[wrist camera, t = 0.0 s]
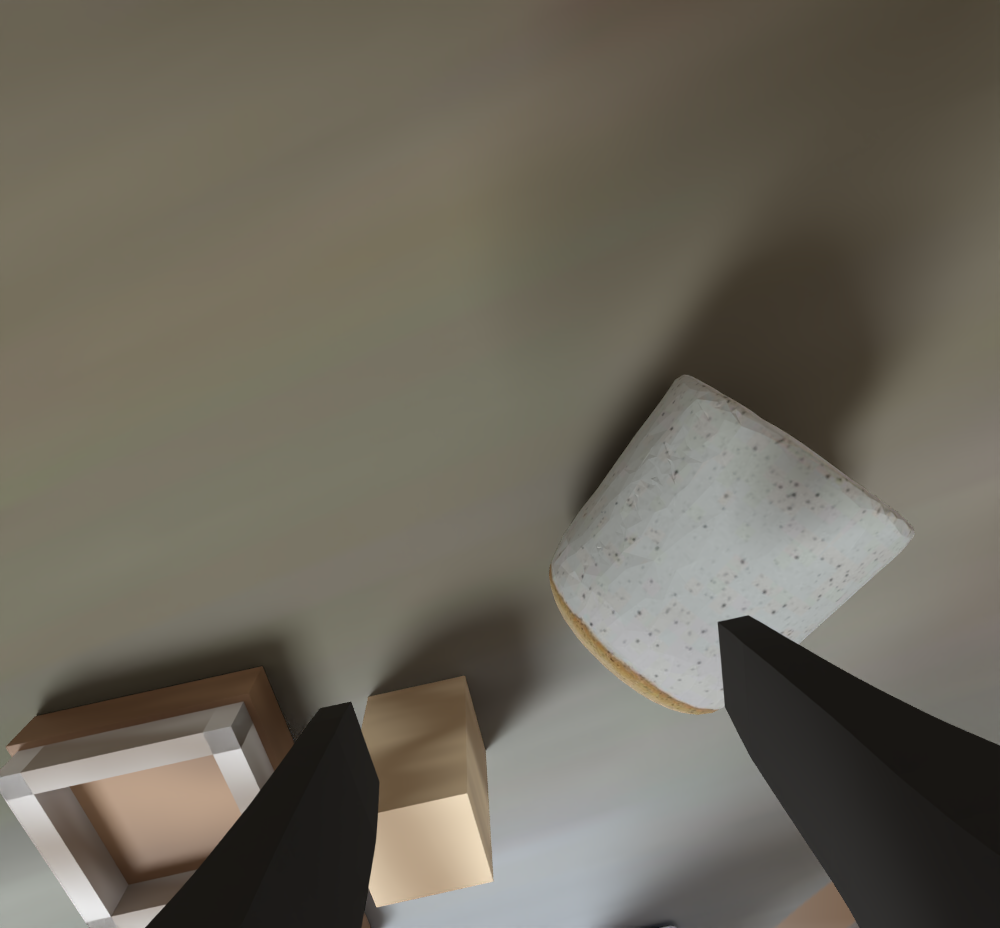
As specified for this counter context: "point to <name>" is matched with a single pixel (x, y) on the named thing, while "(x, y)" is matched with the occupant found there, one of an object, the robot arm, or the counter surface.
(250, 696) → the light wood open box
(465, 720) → the tan square block
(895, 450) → the counter surface
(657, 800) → the counter surface
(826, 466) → the ceramic mug
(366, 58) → the counter surface
